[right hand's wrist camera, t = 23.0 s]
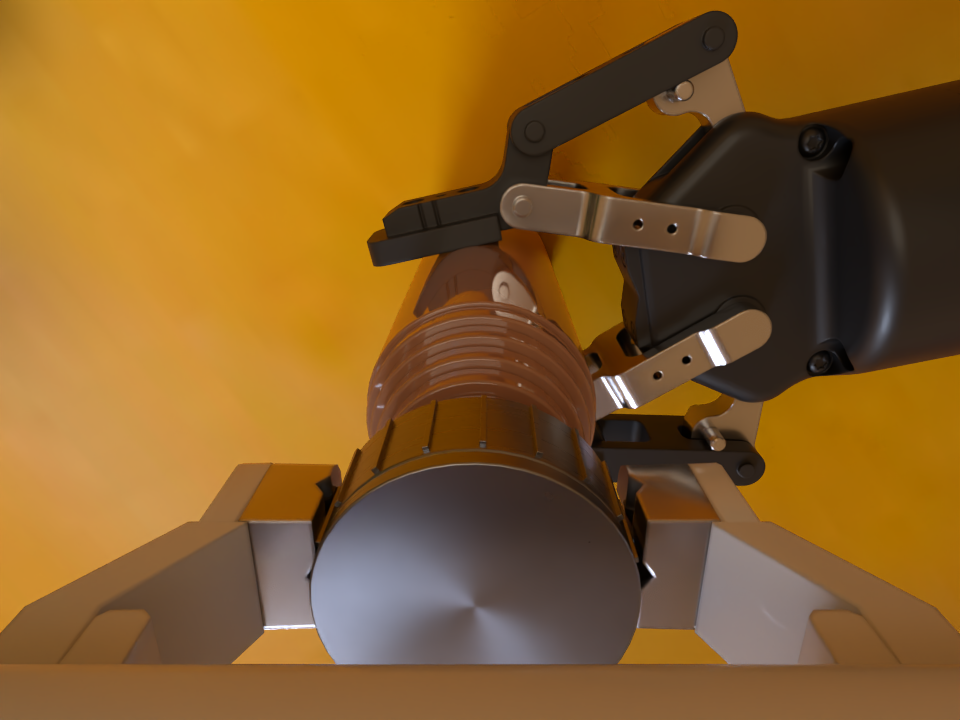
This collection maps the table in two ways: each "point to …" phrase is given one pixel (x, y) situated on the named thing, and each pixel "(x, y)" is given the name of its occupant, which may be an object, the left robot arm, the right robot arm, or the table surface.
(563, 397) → the bottle
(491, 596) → the cap
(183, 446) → the table surface
